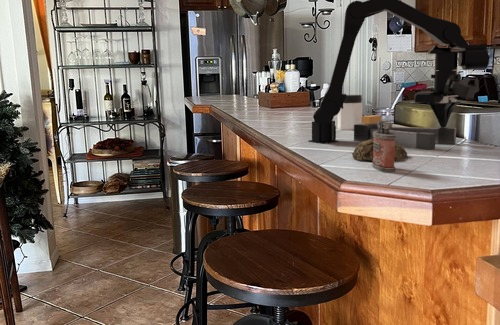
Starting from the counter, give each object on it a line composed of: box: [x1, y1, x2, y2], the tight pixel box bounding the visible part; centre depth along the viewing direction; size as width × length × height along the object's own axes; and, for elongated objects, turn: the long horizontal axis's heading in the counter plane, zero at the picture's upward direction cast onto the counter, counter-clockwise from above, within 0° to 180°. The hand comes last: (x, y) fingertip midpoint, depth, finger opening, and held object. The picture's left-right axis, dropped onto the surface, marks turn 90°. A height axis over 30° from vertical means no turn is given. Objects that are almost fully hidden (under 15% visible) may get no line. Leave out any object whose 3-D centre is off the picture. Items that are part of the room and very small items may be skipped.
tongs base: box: [353, 123, 436, 151], centre depth 132 cm, size 9×25×5 cm, turn 33°
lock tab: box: [361, 114, 382, 124], centre depth 140 cm, size 5×3×2 cm, turn 123°
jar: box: [337, 94, 363, 131], centre depth 172 cm, size 9×8×12 cm
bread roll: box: [351, 139, 408, 163], centre depth 113 cm, size 13×12×5 cm
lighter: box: [371, 120, 396, 174], centre depth 100 cm, size 8×3×10 cm, turn 5°
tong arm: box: [389, 126, 457, 146], centre depth 134 cm, size 2×19×4 cm, turn 58°
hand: (443, 127), depth 135 cm, fingers closed
